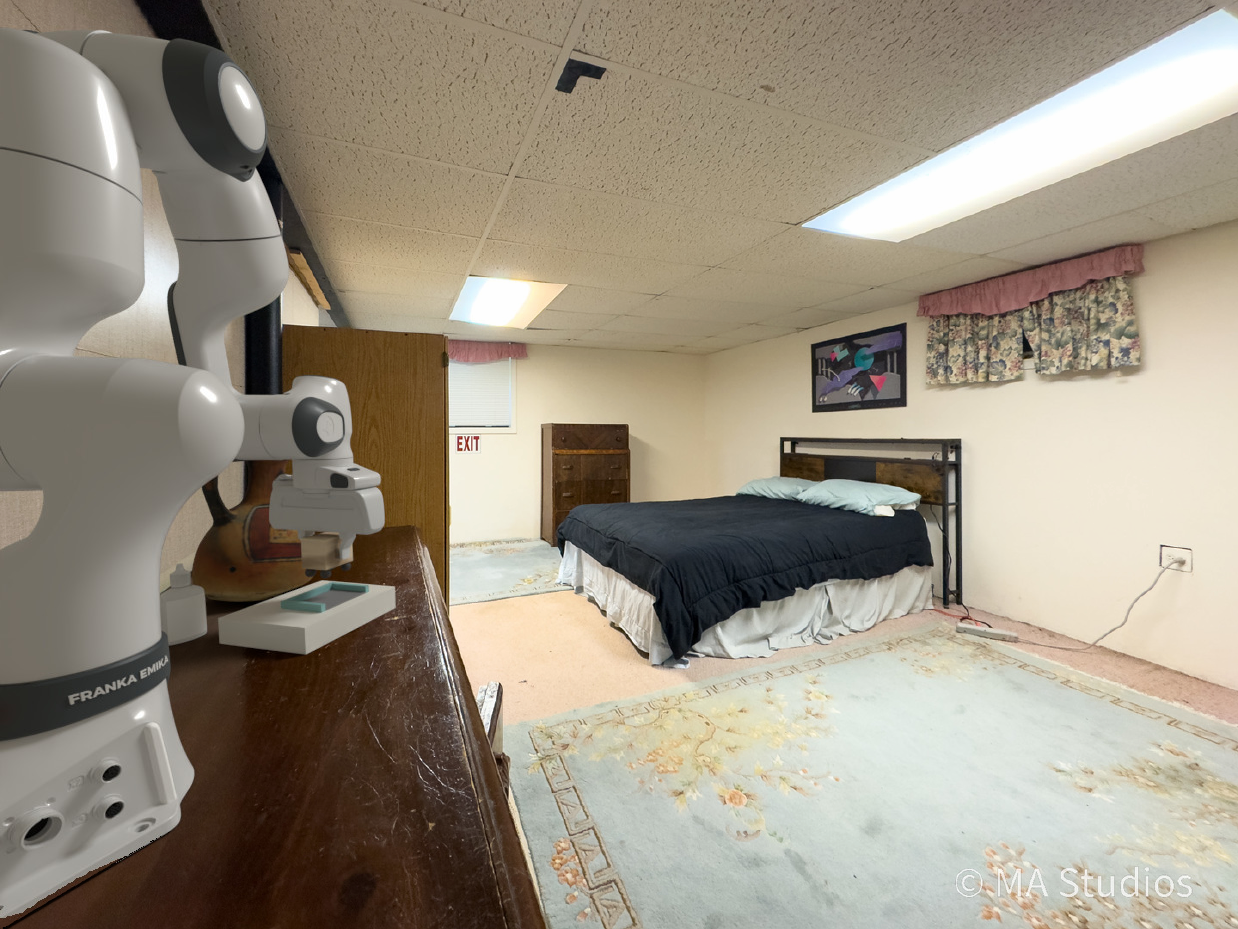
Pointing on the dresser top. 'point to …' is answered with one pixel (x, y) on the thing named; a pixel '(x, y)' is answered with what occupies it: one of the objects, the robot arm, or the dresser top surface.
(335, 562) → the beige wheeled cart
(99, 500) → the robot arm
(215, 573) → the ceramic pitcher
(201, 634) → the eye dropper bottle
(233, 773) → the dresser top surface
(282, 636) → the dock
